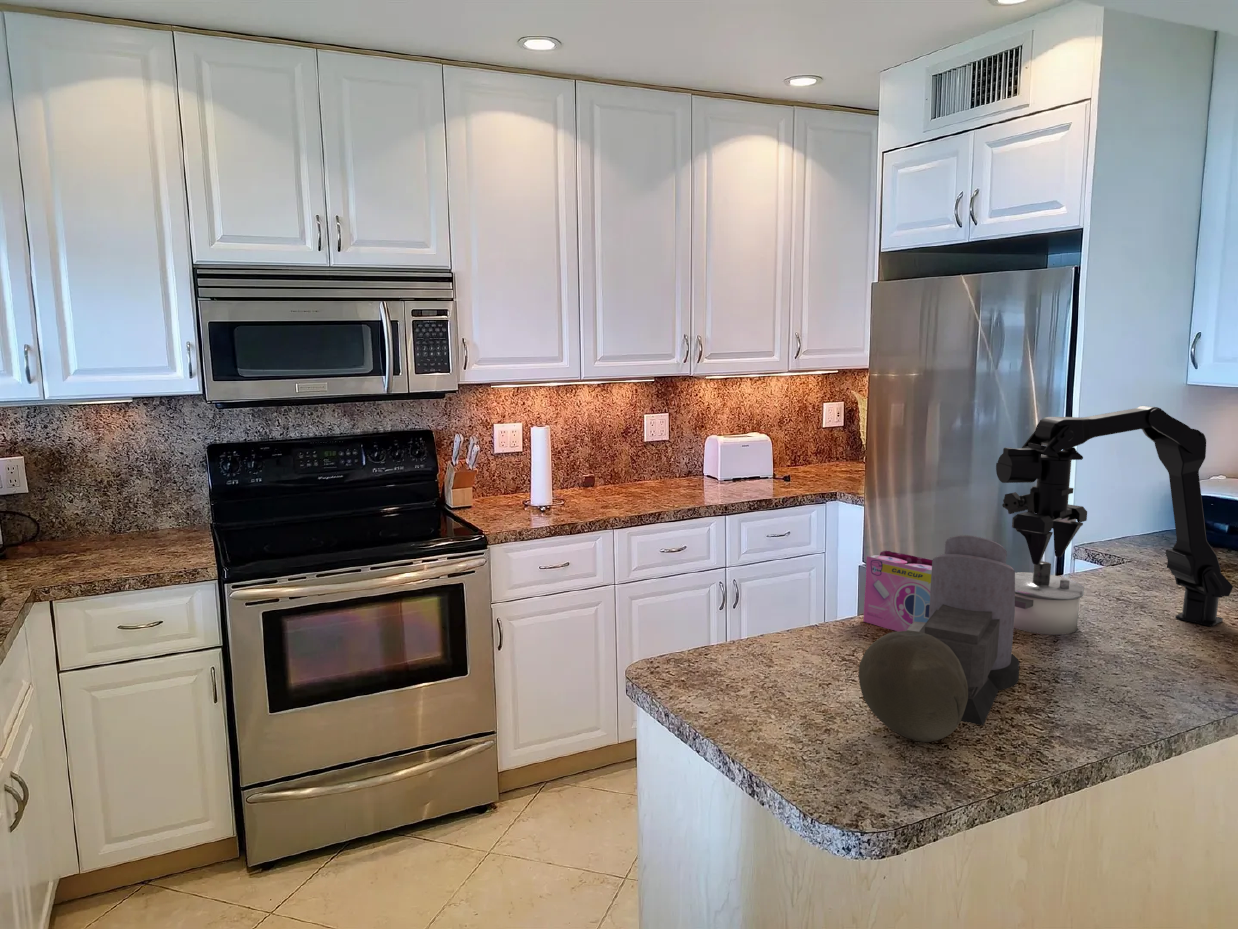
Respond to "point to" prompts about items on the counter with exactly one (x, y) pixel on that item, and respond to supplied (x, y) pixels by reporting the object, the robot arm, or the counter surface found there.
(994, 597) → the juicer
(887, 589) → the pink product box
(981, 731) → the counter surface
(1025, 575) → the cooker lid
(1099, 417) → the robot arm
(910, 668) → the cantaloupe
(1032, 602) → the cooker pot
